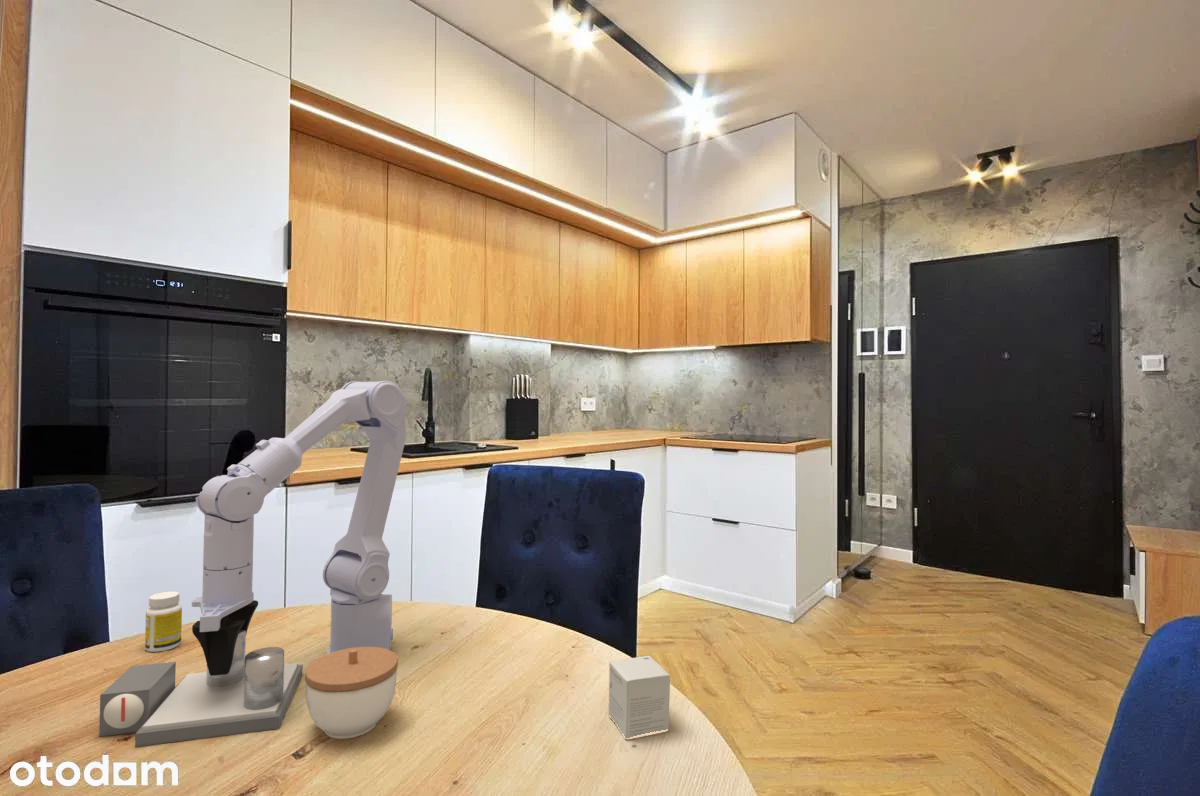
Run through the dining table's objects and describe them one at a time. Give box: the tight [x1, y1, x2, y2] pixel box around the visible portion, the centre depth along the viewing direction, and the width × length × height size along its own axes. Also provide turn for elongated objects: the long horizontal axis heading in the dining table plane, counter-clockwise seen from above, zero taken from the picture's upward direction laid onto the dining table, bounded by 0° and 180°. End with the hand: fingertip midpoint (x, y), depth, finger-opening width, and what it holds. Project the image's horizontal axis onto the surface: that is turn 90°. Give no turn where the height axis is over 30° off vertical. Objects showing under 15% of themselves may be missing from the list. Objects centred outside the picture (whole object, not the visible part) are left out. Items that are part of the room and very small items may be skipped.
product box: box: [608, 655, 671, 738], centre depth 75 cm, size 6×6×7 cm
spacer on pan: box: [244, 646, 285, 710], centre depth 75 cm, size 4×4×6 cm
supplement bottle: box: [144, 590, 183, 653], centre depth 96 cm, size 5×5×8 cm
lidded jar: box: [304, 647, 399, 740], centre depth 74 cm, size 11×11×9 cm
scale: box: [98, 661, 304, 748], centre depth 77 cm, size 20×15×5 cm
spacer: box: [206, 629, 247, 687], centre depth 79 cm, size 4×4×6 cm
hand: (225, 665), depth 79 cm, fingers closed on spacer, 4 cm apart
